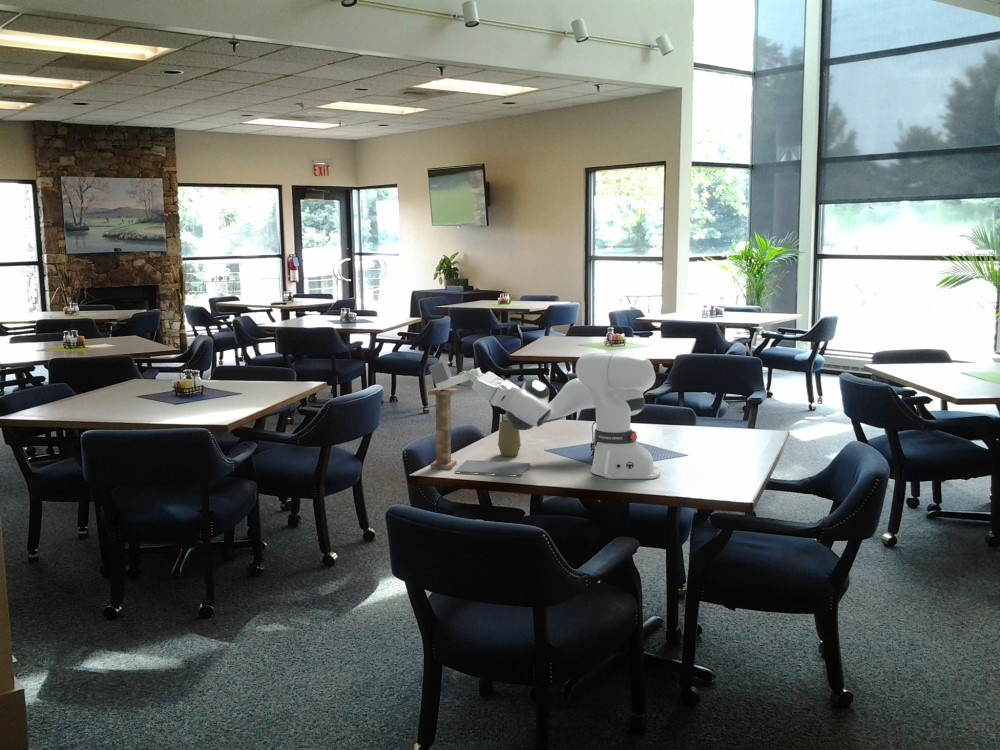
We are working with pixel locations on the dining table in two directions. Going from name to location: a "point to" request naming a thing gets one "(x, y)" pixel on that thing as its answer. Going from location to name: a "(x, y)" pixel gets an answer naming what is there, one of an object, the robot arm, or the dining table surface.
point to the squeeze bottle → (508, 438)
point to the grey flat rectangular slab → (493, 467)
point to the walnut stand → (443, 428)
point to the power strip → (457, 379)
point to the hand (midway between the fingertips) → (468, 371)
